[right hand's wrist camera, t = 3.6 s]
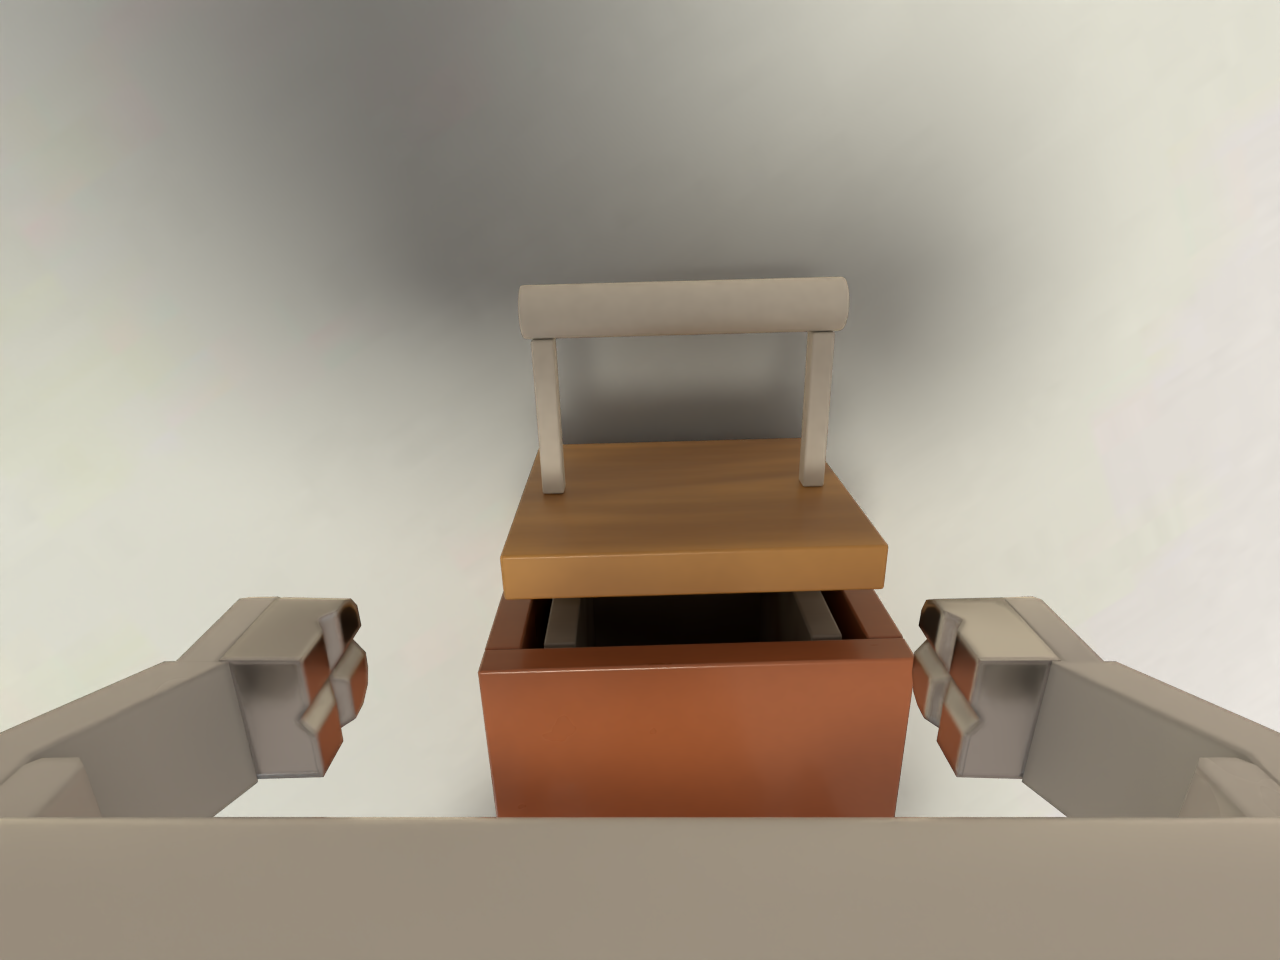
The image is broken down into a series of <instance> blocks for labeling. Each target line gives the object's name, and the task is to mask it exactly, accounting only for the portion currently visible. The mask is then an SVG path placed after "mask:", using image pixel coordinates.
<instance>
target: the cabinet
mask: <svg viewBox="0 0 1280 960" xmlns="http://www.w3.org/2000/svg"><path fill="white" fill-rule="evenodd" d="M821 593H822V595H823V597H824V600H825V602H826V604H827V606H828V608H829V610H830V612H831V614H832V616H833V618H834V620H835V622H836V624H837V626H838V628H839V630H840V632H841V635H842V640H814V641H780V642H746V643H712V644H678V645H643V646H609V647H575V648H544V641H545V636H546V630H547V625H548V620H549V615H550V609H551V604H552V599H553V598H550V599H515V600H506V599H505V597H504V591H503V594H502V597H501V600H500V603H499V607H498V610H497V613H496V616H495V619H494V622H493V626H492V629H491V632H490V635H489V638H488V641H487V644H486V648H485V652H484V655H483V658H482V661H481V664H480V667H479V671H478V677H479V684H480V692H481V700H482V708H483V715H484V723H485V731H486V739H487V746H488V754H489V762H490V770H491V777H492V785H493V793H494V801H495V808H496V816H497V817H895V810H896V802H897V795H898V788H899V781H900V774H901V767H902V759H903V752H904V745H905V738H906V731H907V724H908V717H909V709H910V702H911V695H912V688H913V681H912V666H913V659H914V654H913V652H912V651H911V649H910V648H909V646H908V644H907V643H906V641H905V640H904V639H903V636H902V634H901V633H900V631H899V630H898V628H897V626H896V625H895V623H894V622H893V620H892V618H891V617H890V615H889V613H888V612H887V610H886V609H885V607H884V605H883V604H882V602H881V601H880V599H879V597H878V596H877V594H876V593H875V591H874V589H861V590H827V591H821Z"/></svg>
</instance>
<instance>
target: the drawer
mask: <svg viewBox="0 0 1280 960" xmlns="http://www.w3.org/2000/svg"><path fill="white" fill-rule="evenodd" d="M848 312H849V289H848V284H847V281H846V279H845V278H843V277H809V278H772V279H734V280H697V281H660V282H622V283H585V284H548V285H522V286H520V289H519V293H518V315H519V324H520V330H521V334H522V336H523V338H524V339H533V340H532V341H531V350H532V363H533V375H534V388H535V400H536V413H537V425H538V438H539V449H538V452H537V455H536V458H535V461H534V463H533V466H532V469H531V472H530V475H529V478H528V480H527V483H526V486H525V489H524V492H523V494H522V497H521V500H520V503H519V506H518V509H517V511H516V514H515V517H514V520H513V523H512V525H511V528H510V531H509V534H508V537H507V540H506V542H505V545H504V548H503V551H502V554H501V556H500V562H501V572H502V581H503V590H504V597H505V599H506V600H515V599H550V598H553V599H552V604H551V609H550V615H549V620H548V625H547V630H546V636H545V641H544V648H575V647H609V646H643V645H678V644H712V643H746V642H780V641H814V640H842V635H841V632H840V630H839V628H838V626H837V624H836V622H835V620H834V618H833V616H832V614H831V612H830V610H829V608H828V606H827V604H826V602H825V600H824V597H823V595H822V593H821V591H827V590H861V589H882V588H883V587H884V580H885V571H886V562H887V554H888V545H887V543H886V542H885V541H884V539H883V538H882V537H881V535H880V534H879V532H878V531H877V530H876V528H875V527H874V526H873V524H872V523H871V522H870V520H869V519H868V518H867V516H866V515H865V514H864V512H863V511H862V510H861V508H860V507H859V506H858V504H857V503H856V501H855V500H854V499H853V497H852V496H851V495H850V493H849V492H848V491H847V489H846V488H845V487H844V485H843V484H842V483H841V481H840V480H839V479H838V477H837V476H836V475H835V473H834V472H833V470H832V469H831V468H830V466H829V465H828V464H827V462H826V461H825V459H826V446H827V433H828V419H829V406H830V393H831V379H832V366H833V353H834V339H835V334H834V332H832V331H840V330H842V329H843V328H844V326H845V324H846V321H847V318H848ZM771 332H808V335H807V352H806V368H805V385H804V401H803V417H802V434H801V438H780V439H744V440H708V441H672V442H636V443H600V444H564V445H563V441H562V426H561V411H560V396H559V381H558V366H557V352H556V339H555V338H587V337H624V336H661V335H698V334H734V333H771Z"/></svg>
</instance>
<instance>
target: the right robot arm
mask: <svg viewBox="0 0 1280 960" xmlns="http://www.w3.org/2000/svg"><path fill="white" fill-rule="evenodd" d="M360 627H361V622H360V617H359V612H358V607H357V605H356V604H355V602H354V601H353V600H352V599H351V598H299V597H282V598H280V597H247V598H241V599H239V600H238V601H237V602H236V603H235V604H234V605H233V606H232V607H231V608H230V609H229V610H228V611H227V612H226V613H224V614H223V615H222V616H221V617H220V618H219V619H218V620H217V621H216V622H215V623H214V624H213V625H212V626H211V627H210V628H209V629H208V630H207V631H206V632H205V633H204V634H203V635H202V636H201V637H200V638H199V639H198V640H197V641H196V642H195V643H194V644H193V645H192V646H191V647H190V648H189V649H188V650H187V651H186V652H185V653H184V654H183V655H182V656H181V657H180V658H179V659H178V660H177V661H164V662H162V663H159V664H157V665H155V666H153V667H150V668H148V669H146V670H143V671H141V672H139V673H136V674H134V675H132V676H130V677H127V678H125V679H123V680H120V681H118V682H116V683H113V684H111V685H109V686H107V687H104V688H102V689H100V690H97V691H95V692H93V693H90V694H88V695H86V696H84V697H81V698H79V699H77V700H74V701H72V702H70V703H67V704H65V705H63V706H61V707H58V708H56V709H54V710H51V711H49V712H47V713H44V714H42V715H40V716H38V717H35V718H33V719H31V720H28V721H26V722H24V723H21V724H19V725H17V726H15V727H12V728H10V729H8V730H5V731H3V732H1V733H0V960H1280V733H1279V732H1277V731H1274V730H1272V729H1270V728H1267V727H1265V726H1263V725H1261V724H1258V723H1256V722H1254V721H1251V720H1249V719H1247V718H1244V717H1242V716H1240V715H1238V714H1235V713H1233V712H1231V711H1228V710H1226V709H1224V708H1222V707H1219V706H1217V705H1215V704H1212V703H1210V702H1208V701H1205V700H1203V699H1201V698H1199V697H1196V696H1194V695H1192V694H1189V693H1187V692H1185V691H1183V690H1180V689H1178V688H1176V687H1173V686H1171V685H1169V684H1166V683H1164V682H1162V681H1160V680H1157V679H1155V678H1153V677H1150V676H1148V675H1146V674H1144V673H1141V672H1139V671H1137V670H1134V669H1132V668H1130V667H1127V666H1125V665H1123V664H1121V663H1118V662H1116V661H1103V660H1102V659H1101V658H1100V657H1099V656H1098V655H1097V654H1096V653H1095V652H1094V651H1093V650H1092V649H1091V648H1090V647H1089V646H1088V645H1087V644H1086V643H1085V642H1084V641H1083V640H1082V639H1081V638H1080V637H1079V636H1078V635H1077V634H1076V633H1075V632H1074V631H1073V630H1072V629H1071V628H1070V627H1069V626H1068V625H1067V624H1066V623H1065V622H1064V621H1063V620H1062V619H1061V618H1060V617H1059V616H1058V615H1057V614H1056V613H1055V612H1054V611H1053V610H1052V609H1051V608H1050V607H1049V606H1048V605H1047V604H1046V603H1045V602H1044V601H1043V600H1041V599H1038V598H1036V597H1033V596H1029V597H1004V598H1003V597H1000V598H960V599H931V600H926V602H925V604H924V606H923V608H922V610H921V616H920V621H919V627H920V628H921V630H922V631H923V633H924V635H925V636H926V638H927V640H926V641H925V642H924V643H923V644H922V645H921V646H920V647H919V648H918V649H917V650H916V651H915V652H914V659H913V666H912V681H913V692H914V695H915V698H916V702H917V705H918V707H919V709H920V711H921V713H922V715H923V717H924V718H925V719H926V720H928V721H929V722H931V723H932V724H934V725H935V726H937V727H939V731H938V736H937V742H938V744H939V746H940V748H941V750H942V751H943V753H944V755H945V757H946V759H947V760H948V762H949V764H950V766H951V768H952V769H953V771H954V773H955V775H956V777H973V778H1009V779H1022V782H1023V783H1024V784H1025V785H1027V786H1028V787H1029V788H1031V789H1032V790H1033V791H1035V792H1036V793H1037V794H1038V795H1040V796H1041V797H1042V798H1044V799H1045V800H1046V801H1047V802H1049V803H1050V804H1051V805H1053V806H1054V807H1055V808H1056V809H1058V810H1059V811H1060V812H1062V813H1063V814H1064V815H1065V816H1067V817H214V816H215V815H216V814H217V813H219V812H220V811H221V810H223V809H224V808H225V807H226V806H228V805H229V804H230V803H232V802H233V801H234V800H235V799H237V798H238V797H239V796H241V795H242V794H243V793H244V792H246V791H247V790H248V789H250V788H251V787H252V786H254V785H255V784H256V783H257V782H258V779H270V778H306V777H324V775H325V773H326V771H327V770H328V768H329V766H330V764H331V762H332V761H333V759H334V757H335V755H336V753H337V752H338V750H339V748H340V746H341V744H342V742H343V736H342V731H341V728H342V727H343V726H345V725H346V724H348V723H349V722H351V721H352V720H354V719H355V718H356V717H357V715H358V713H359V711H360V709H361V707H362V705H363V703H364V698H365V694H366V689H367V685H368V664H367V658H366V652H365V651H364V650H363V649H362V648H361V647H360V646H359V645H358V644H357V643H356V642H355V641H354V640H353V638H354V636H355V635H356V633H357V632H358V630H359V628H360Z"/></svg>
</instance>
